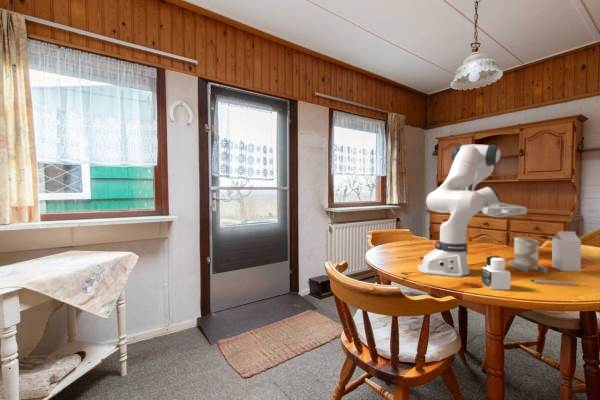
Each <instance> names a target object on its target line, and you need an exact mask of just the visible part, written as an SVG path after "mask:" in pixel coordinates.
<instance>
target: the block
mask: <svg viewBox="0 0 600 400" xmlns="http://www.w3.org/2000/svg"><path fill="white" fill-rule="evenodd" d="M513 239H514V241H513V242H514V244H513V245H514V246H513V247H514V248H513V249H514V250H513V253H514V254H513V256H514V257H513V261H514V262H516V263H518V264H520V265H522V266H525V267H527V268H528V271H539V270H538V265H539V240H537V239H533V238H531V237H516V236H515V237H514V238H513Z"/></svg>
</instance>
